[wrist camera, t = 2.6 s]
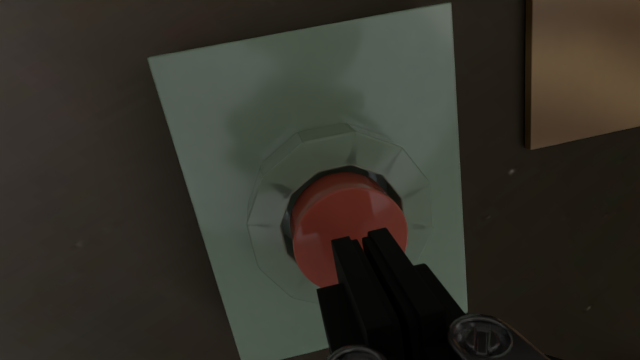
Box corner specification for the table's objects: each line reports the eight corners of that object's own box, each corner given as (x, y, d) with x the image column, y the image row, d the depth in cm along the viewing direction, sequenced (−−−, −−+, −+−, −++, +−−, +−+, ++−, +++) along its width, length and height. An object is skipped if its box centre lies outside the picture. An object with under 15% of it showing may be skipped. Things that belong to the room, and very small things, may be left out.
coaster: (525, -103, 17) (533, -107, 16) (758, -141, 18) (772, -146, 17) (524, 147, 20) (530, 150, 20) (716, 105, 21) (726, 107, 21)
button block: (165, 54, 17) (129, 59, 12) (418, 8, 17) (477, -5, 13) (245, 324, 21) (242, 402, 17) (440, 276, 22) (488, 339, 18)
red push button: (279, 184, 14) (282, 202, 13) (386, 161, 15) (402, 176, 13) (300, 277, 16) (305, 305, 14) (397, 254, 16) (413, 278, 14)
